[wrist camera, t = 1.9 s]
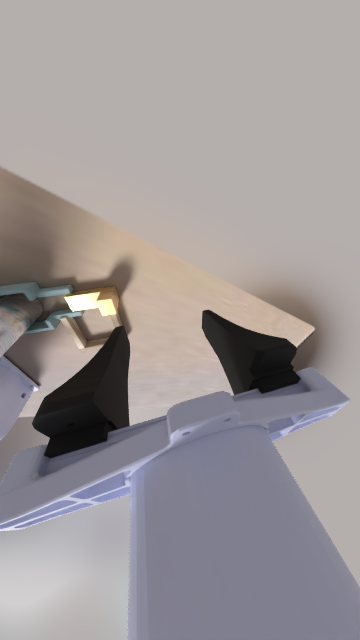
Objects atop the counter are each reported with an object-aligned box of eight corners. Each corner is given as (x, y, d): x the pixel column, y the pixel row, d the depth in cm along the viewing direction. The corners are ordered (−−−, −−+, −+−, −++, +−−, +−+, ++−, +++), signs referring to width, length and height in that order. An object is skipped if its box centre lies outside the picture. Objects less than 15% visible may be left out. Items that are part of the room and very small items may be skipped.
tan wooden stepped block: (119, 299, 21) (116, 313, 18) (76, 305, 20) (65, 322, 17) (114, 285, 19) (111, 298, 16) (68, 292, 18) (55, 307, 16)
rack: (126, 337, 25) (126, 343, 23) (84, 345, 24) (81, 352, 22) (115, 304, 21) (113, 309, 20) (64, 312, 20) (59, 318, 19)
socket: (87, 315, 21) (77, 336, 17) (9, 329, 19) (-20, 354, 16) (67, 277, 18) (50, 293, 14) (-30, 289, 16) (-77, 311, 12)
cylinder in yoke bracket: (48, 315, 20) (11, 359, 14) (17, 320, 19) (-36, 368, 13) (31, 290, 17) (-22, 329, 12) (-5, 295, 17) (-80, 339, 11)
